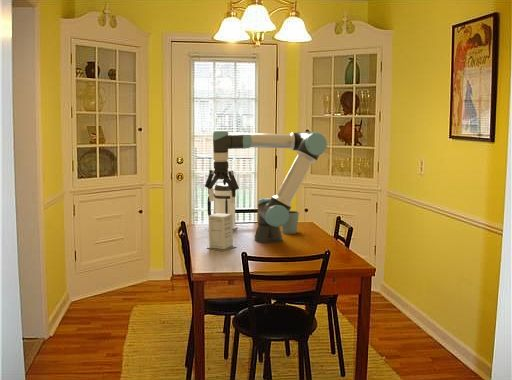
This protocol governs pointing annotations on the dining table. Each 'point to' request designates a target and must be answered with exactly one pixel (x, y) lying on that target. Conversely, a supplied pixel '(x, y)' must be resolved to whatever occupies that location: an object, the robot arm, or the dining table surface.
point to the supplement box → (220, 231)
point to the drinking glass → (291, 223)
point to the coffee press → (222, 201)
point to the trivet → (222, 249)
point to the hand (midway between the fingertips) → (221, 202)
